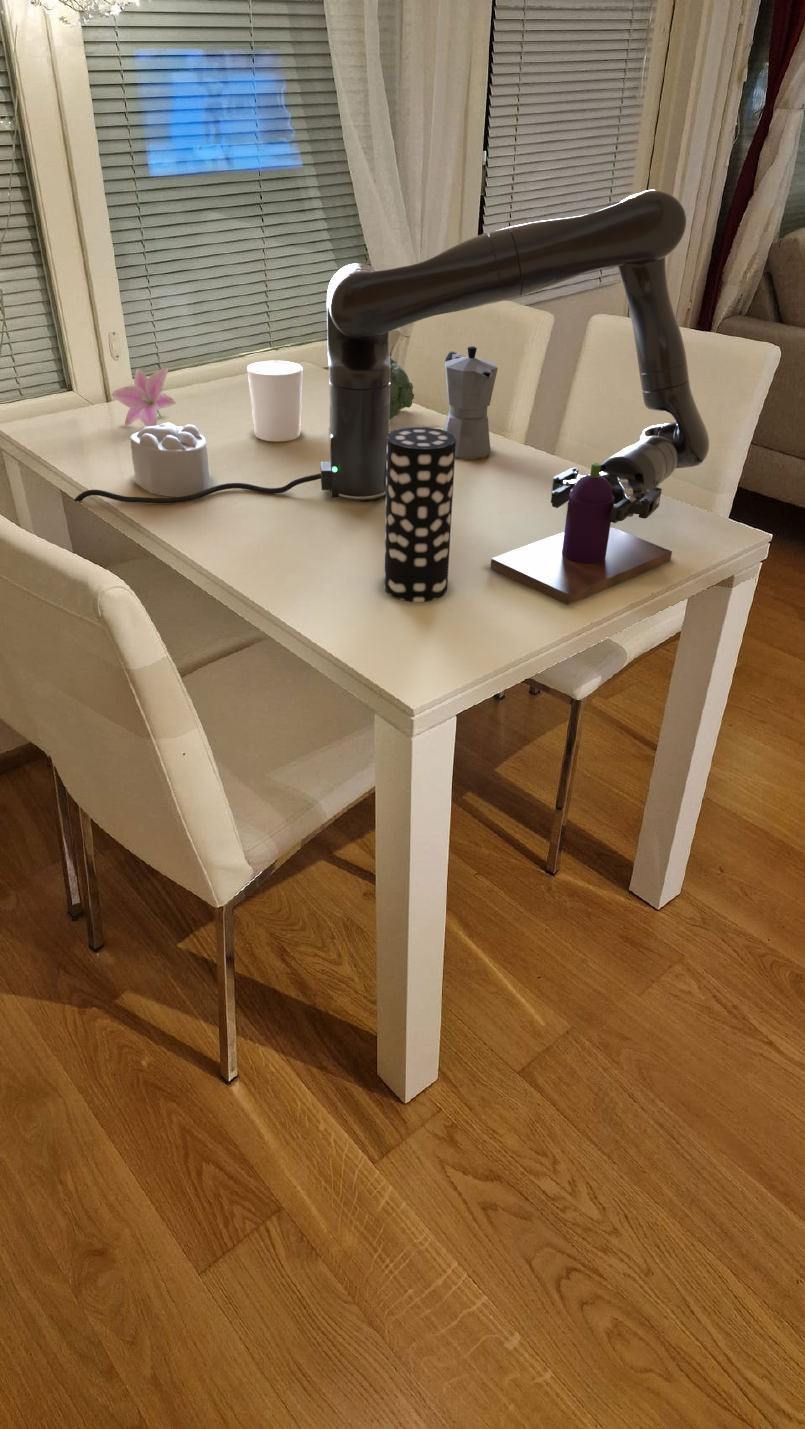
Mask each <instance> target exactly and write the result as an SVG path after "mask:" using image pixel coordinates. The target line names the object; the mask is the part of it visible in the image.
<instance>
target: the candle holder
mask: <svg viewBox="0 0 805 1429" xmlns="http://www.w3.org/2000/svg"><path fill="white" fill-rule="evenodd" d="M303 370H304V368H303V366H302V365H301V364H299V363H297V362H293V361H286V360H262V361H257V362H253V363H250V364H249V365H247V367H246V372H247V377H248V379H247V380H248V386H249V397H250V405H251V413H252V422H253V430H254V431H253V432H254V435H255V437H256V438H257V439H259V440H262V441H266V442H275V443H278V442H289V441H292V440H296V439H298V438H299V437H300V436H301V431H302V430H301V428H302V400H303V398H302V396H303V395H302V394H303Z"/></svg>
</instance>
